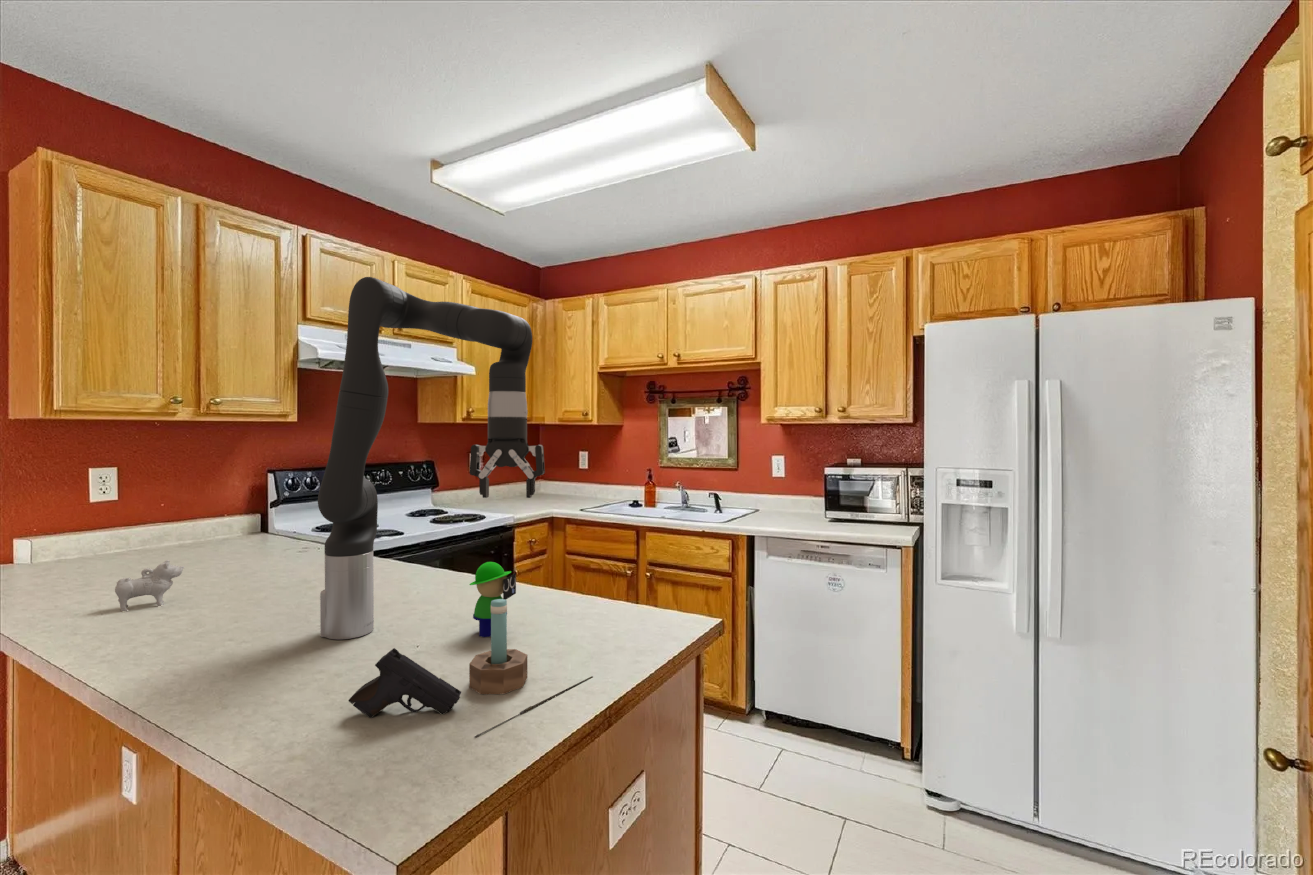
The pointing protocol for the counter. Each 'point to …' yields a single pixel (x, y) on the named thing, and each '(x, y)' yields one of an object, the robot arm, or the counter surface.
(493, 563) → the toy
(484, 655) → the bead
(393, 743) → the counter surface
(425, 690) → the handgun
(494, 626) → the teal capped tube
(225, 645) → the counter surface
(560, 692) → the paintbrush
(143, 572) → the grey pig charm
